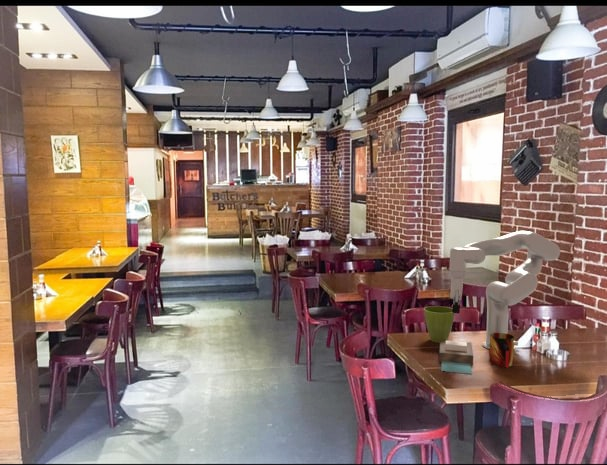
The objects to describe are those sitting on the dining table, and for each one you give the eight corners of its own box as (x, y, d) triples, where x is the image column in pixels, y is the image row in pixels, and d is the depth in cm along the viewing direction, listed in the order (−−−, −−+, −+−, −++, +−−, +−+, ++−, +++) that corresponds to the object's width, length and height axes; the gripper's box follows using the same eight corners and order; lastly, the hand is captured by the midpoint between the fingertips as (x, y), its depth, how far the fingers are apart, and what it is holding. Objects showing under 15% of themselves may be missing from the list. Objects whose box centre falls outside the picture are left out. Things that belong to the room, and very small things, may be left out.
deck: (471, 350, 233) (471, 342, 233) (473, 364, 214) (473, 355, 214) (440, 348, 237) (440, 339, 237) (439, 361, 218) (439, 352, 217)
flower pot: (439, 347, 238) (440, 314, 237) (416, 339, 251) (417, 308, 250) (460, 342, 247) (461, 310, 245) (437, 335, 259) (438, 304, 258)
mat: (470, 364, 214) (470, 363, 214) (471, 374, 202) (471, 373, 202) (441, 362, 217) (441, 361, 217) (441, 371, 206) (441, 370, 205)
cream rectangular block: (466, 347, 225) (466, 342, 225) (466, 351, 219) (467, 346, 219) (445, 345, 227) (445, 340, 227) (445, 349, 222) (445, 344, 221)
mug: (506, 370, 207) (507, 342, 206) (484, 360, 220) (485, 333, 219) (525, 368, 210) (526, 340, 209) (502, 358, 223) (503, 331, 222)
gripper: (449, 271, 240) (447, 308, 242) (449, 276, 226) (447, 315, 227) (465, 272, 238) (463, 310, 240) (466, 277, 224) (464, 317, 225)
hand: (455, 312), depth 234 cm, fingers closed
